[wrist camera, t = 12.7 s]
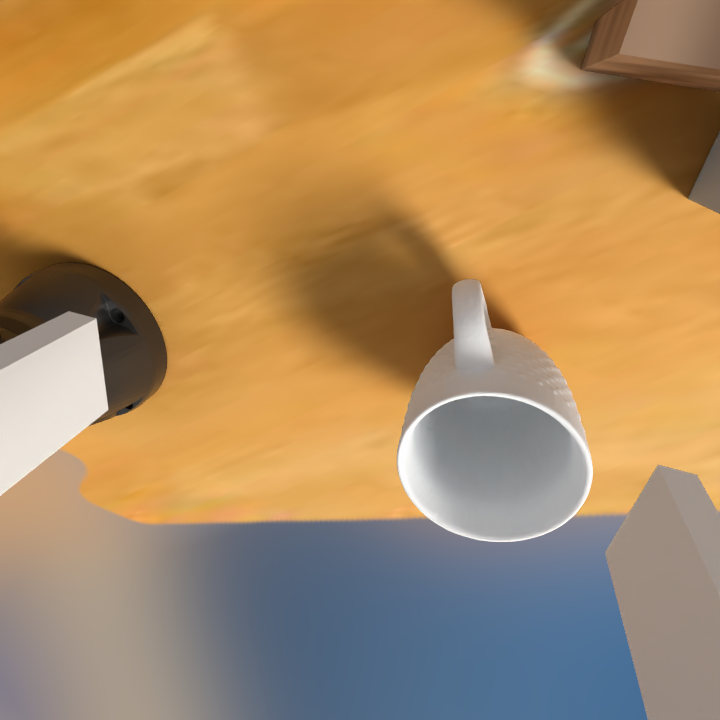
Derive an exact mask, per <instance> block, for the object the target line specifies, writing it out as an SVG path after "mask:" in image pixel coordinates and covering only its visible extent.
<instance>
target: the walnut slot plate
mask: <svg viewBox="0 0 720 720" xmlns="http://www.w3.org/2000/svg"><path fill="white" fill-rule="evenodd" d="M581 70H585V71H592V72H598V73H604V74H610V75H617V76H623V77H629V78H635V79H642V80H648V81H654V82H660V83H667V84H673V85H679V86H685V87H692V88H698V89H704V90H710V91H717V92H720V0H622V1H621V2H619V3H618V4H617V5H616V6H614V7H613V8H612V9H611V10H609V11H608V12H607V13H606V14H605V15H603V16H602V17H601V18H600V19H598V20H597V21H596V23H595V26H594V29H593V32H592V36H591V39H590V42H589V45H588V48H587V51H586V54H585V57H584V60H583V63H582V66H581Z"/></svg>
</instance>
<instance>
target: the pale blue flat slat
mask: <svg viewBox="0 0 720 720" xmlns="http://www.w3.org/2000/svg"><path fill="white" fill-rule="evenodd" d="M688 199H689V200H691V201H694V202H696V203H698V204H700V205H702V206H704V207H706V208H709V209H711V210H713V211H715V212H717V213H719V214H720V132H719V134H718V136H717V138H716V140H715V142H714V144H713V146H712V148H711V151H710V153H709V155H708V157H707V159H706V161H705V163H704V165H703V168H702V170H701V172H700V174H699V176H698V178H697V180H696V182H695V184H694V187H693V189H692V191H691V193H690V195H689V197H688Z"/></svg>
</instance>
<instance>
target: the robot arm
mask: <svg viewBox="0 0 720 720" xmlns="http://www.w3.org/2000/svg"><path fill="white" fill-rule="evenodd" d="M166 368H167V353H166V347H165V343H164V339H163V336H162V333H161V331H160V328H159V326H158V324H157V322H156V320H155V318H154V317H153V315H152V313H151V312H150V311H149V309H148V308H147V306H146V305H145V304H144V302H143V301H142V300H141V299H140V298H139V297H138V296H137V295H136V294H135V293H134V292H133V291H132V290H131V289H130V288H129V287H128V286H127V285H126V284H124V283H123V282H122V281H120V280H119V279H117V278H116V277H114V276H113V275H111V274H109V273H107V272H105V271H103V270H101V269H99V268H96V267H94V266H90V265H87V264H82V263H74V262H67V263H59V264H56V265H53V266H50V267H47V268H45V269H42V270H39V271H36V272H34V273H32V274H30V275H29V276H27V277H26V278H24V279H23V280H22V281H21V282H20V283H19V284H18V285H17V287H16V288H15V289H14V290H13V291H12V292H11V293H10V294H8V295H7V296H6V297H5V298H4V299H3V300H2V301H0V496H1V495H2V494H3V493H4V492H6V491H7V490H8V489H9V488H11V487H12V486H13V485H14V484H15V483H17V482H18V481H19V480H21V479H22V478H23V477H24V476H26V475H27V474H28V473H29V472H31V471H32V470H33V469H35V468H36V467H37V466H38V465H40V464H41V463H42V462H43V461H45V460H46V459H47V458H48V457H50V456H51V455H52V454H53V453H55V452H56V451H57V450H59V449H60V448H61V447H62V446H64V445H65V444H66V443H67V442H69V441H70V440H71V439H72V438H74V437H75V436H76V435H77V434H79V433H80V432H81V431H82V430H84V429H85V428H86V427H88V426H90V425H93V424H96V423H99V422H102V421H105V420H108V419H110V418H112V417H115V416H118V415H122V414H125V413H127V412H130V411H132V410H134V409H136V408H137V407H139V406H140V405H141V404H143V403H144V402H145V401H146V400H147V399H148V398H150V397H151V396H152V395H153V394H154V393H155V392H156V391H157V390H158V389H159V387H160V386H161V384H162V382H163V380H164V377H165V373H166ZM605 554H606V558H607V562H608V566H609V569H610V574H611V577H612V581H613V585H614V589H615V593H616V597H617V601H618V605H619V609H620V612H621V616H622V620H623V624H624V628H625V632H626V636H627V639H628V643H629V647H630V651H631V655H632V659H633V663H634V666H635V671H636V675H637V678H638V682H639V686H640V690H641V694H642V698H643V702H644V705H645V709H646V713H647V717H648V720H720V515H719V513H718V512H717V510H716V508H715V506H714V505H713V503H712V501H711V499H710V497H709V496H708V494H707V492H706V490H705V488H704V487H703V485H702V483H701V481H700V480H699V478H698V476H697V475H695V474H692V473H688V472H684V471H680V470H676V469H672V468H669V467H665V466H661V465H658V466H657V467H656V469H655V471H654V472H653V474H652V476H651V477H650V479H649V481H648V482H647V484H646V486H645V487H644V489H643V491H642V492H641V494H640V496H639V497H638V499H637V501H636V502H635V504H634V506H633V507H632V509H631V511H630V512H629V514H628V516H627V517H626V519H625V521H624V522H623V524H622V525H621V527H620V529H619V531H618V532H617V534H616V535H615V537H614V539H613V541H612V542H611V544H610V546H609V547H608V549H607V550H606V552H605Z"/></svg>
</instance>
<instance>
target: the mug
mask: <svg viewBox="0 0 720 720" xmlns="http://www.w3.org/2000/svg"><path fill="white" fill-rule="evenodd" d="M452 308H453V324H454V339H452V340H450V341H449V342H448V343H447V344H445V345H444V346H443V347H442V348H441V349H440V350H438V351H437V352H436V354H435V355H434V356H433V357H432V358H431V359H430V361H429V363H428V364H427V365H426V366H425V368H424V371H423V372H422V373H421V375H420V377H419V380H418V382H417V383H416V385H415V389H414V391H413V392H412V394H411V400H410V402H409V404H408V410H407V413H406V415H405V421H404V424H403V427H402V433H401V437H400V441H399V445H398V451H397V468H398V474H399V477H400V480H401V483H402V485H403V488H404V490H405V491H406V493H407V495H408V496H409V498H410V499H411V501H412V502H413V503H414V504H415V505H416V507H417V508H418V509H419V510H420V511H421V512H422V513H423V514H424V515H425V516H427V517H428V518H429V519H430V520H432V521H434V522H435V523H436V524H438V525H440V526H441V527H443V528H445V529H447V530H449V531H451V532H454V533H456V534H459V535H462V536H465V537H468V538H472V539H477V540H483V541H492V542H509V541H519V540H525V539H530V538H534V537H537V536H540V535H543V534H545V533H548V532H551V531H552V530H554V529H556V528H558V527H560V526H561V525H563V524H564V523H565V522H567V521H568V520H569V519H570V518H571V517H573V516H574V515H575V514H576V513H577V511H578V510H579V509H580V508H581V506H582V505H583V503H584V502H585V500H586V498H587V496H588V493H589V490H590V487H591V483H592V476H593V467H592V459H591V455H590V451H589V447H588V444H587V440H586V436H585V429H584V428H583V426H582V424H581V416H580V414H579V413H578V411H577V408H576V402H575V401H574V399H573V398H572V393H571V390H570V389H569V388H568V386H567V381H566V380H565V378H564V377H563V376H562V374H561V371H560V370H559V368H557V367H556V365H555V364H554V362H553V360H552V359H551V358H549V357H548V355H547V353H546V352H544V351H543V350H541V348H540V347H539V346H538V345H536V344H535V343H533V342H532V341H531V340H529V339H527V338H525V337H524V336H523V335H520V334H517V333H515V332H513V331H508V330H505V329H497V328H492V327H491V323H490V319H489V316H488V311H487V305H486V302H485V298H484V295H483V291H482V287H481V283H480V281H478V280H475V279H465V280H461V281H459V282H457V283H455V284H454V286H453V288H452Z"/></svg>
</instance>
